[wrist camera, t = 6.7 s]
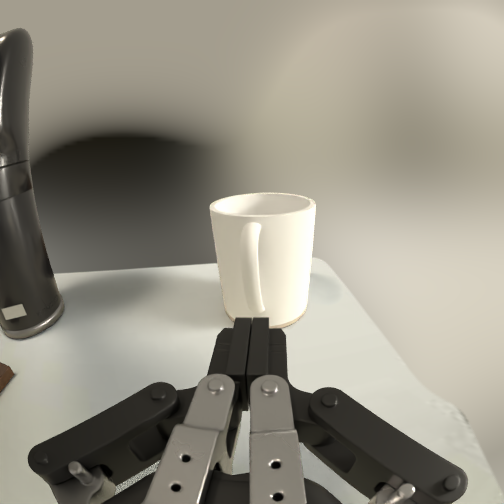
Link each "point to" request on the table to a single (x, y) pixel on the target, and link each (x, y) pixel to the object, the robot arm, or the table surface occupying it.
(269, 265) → the mug
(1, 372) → the coaster
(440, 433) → the table surface
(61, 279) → the table surface
